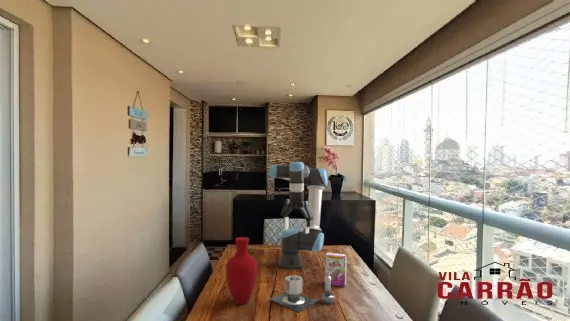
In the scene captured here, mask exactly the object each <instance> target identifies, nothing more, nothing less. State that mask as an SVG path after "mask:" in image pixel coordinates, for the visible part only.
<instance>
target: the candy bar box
mask: <svg viewBox="0 0 570 321" xmlns="http://www.w3.org/2000/svg"><path fill="white" fill-rule="evenodd" d="M326 275H329V276H331V286H335V287H342V288H345V287H346V285H347V254H342V253H335V252H334V253H333V252H326V253H325V255H324V277H325V276H326Z"/></svg>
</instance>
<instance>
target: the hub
mask: <svg viewBox="0 0 570 321" xmlns="http://www.w3.org/2000/svg"><path fill="white" fill-rule="evenodd" d="M292 280H295V279H292ZM269 301H270V302H272V303H275V304H276V305H280V306H283V307H284V308H287V309H289V310H293V311H294V312H296V313H301V312H303V311H304V310H307V309H308V308H310V307H312V306H315V304H318V300H317V299H314V298H312V297H309V296H306V295H303V294H301V293H300V294H297V295H295V294H288V293H286V292H285V291H284V292H282V293H280V294H278V295H276V296H273V297H271V298H269Z"/></svg>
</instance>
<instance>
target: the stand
mask: <svg viewBox="0 0 570 321" xmlns="http://www.w3.org/2000/svg"><path fill="white" fill-rule="evenodd" d="M331 287H332V285H331V276H329V275H326V276H325V275H324V292H323V293H321V294H320V295H321V300H320V301H321V303H322V304H324V305H333V304H334V303H335V295H334V294H333V293H332V292H331V290H332V288H331Z"/></svg>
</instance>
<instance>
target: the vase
mask: <svg viewBox="0 0 570 321" xmlns="http://www.w3.org/2000/svg"><path fill="white" fill-rule="evenodd" d="M234 241H235V244H236V245H235V246H236V252H235V254H234V255H233V256H232V257H230V258H229V259H228V260H227V262H226V266H225V272H226V273H225V274H226V281H227V285H228V289H229V292H230V295H231V298H232V300H233V302H234V303H235V304H237V305H246V304H248V303H249V302H250V300H251V296H252V295H253V291H254V289H255V286H256V282H257V277H258V261H257V260H256V258H255V257H253V256H251V255H250V253H248V246H249V242H250V238H249V237H245V236H241V237H240V236H239V237H236V238H235V240H234Z"/></svg>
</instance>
